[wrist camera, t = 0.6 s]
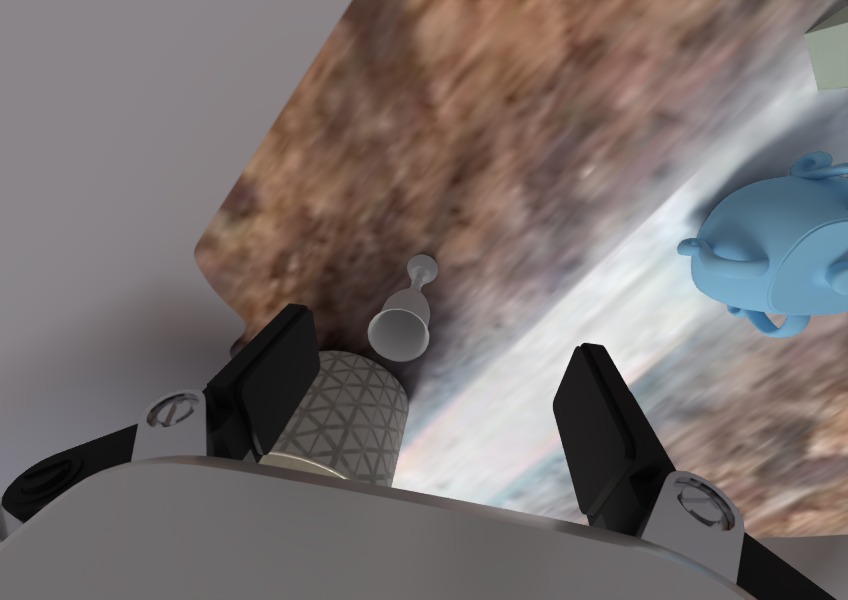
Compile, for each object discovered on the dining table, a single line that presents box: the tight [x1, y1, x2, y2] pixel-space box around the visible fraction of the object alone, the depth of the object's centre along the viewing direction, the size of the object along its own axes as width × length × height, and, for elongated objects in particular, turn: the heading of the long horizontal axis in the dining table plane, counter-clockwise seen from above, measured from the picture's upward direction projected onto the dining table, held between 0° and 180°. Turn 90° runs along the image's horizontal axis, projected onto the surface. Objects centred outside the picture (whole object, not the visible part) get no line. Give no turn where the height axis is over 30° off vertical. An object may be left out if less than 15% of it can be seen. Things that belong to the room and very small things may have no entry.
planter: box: [259, 350, 409, 487], centre depth 54 cm, size 25×25×24 cm
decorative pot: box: [677, 152, 848, 338], centre depth 33 cm, size 16×16×14 cm
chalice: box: [368, 254, 438, 362], centre depth 41 cm, size 7×7×18 cm
